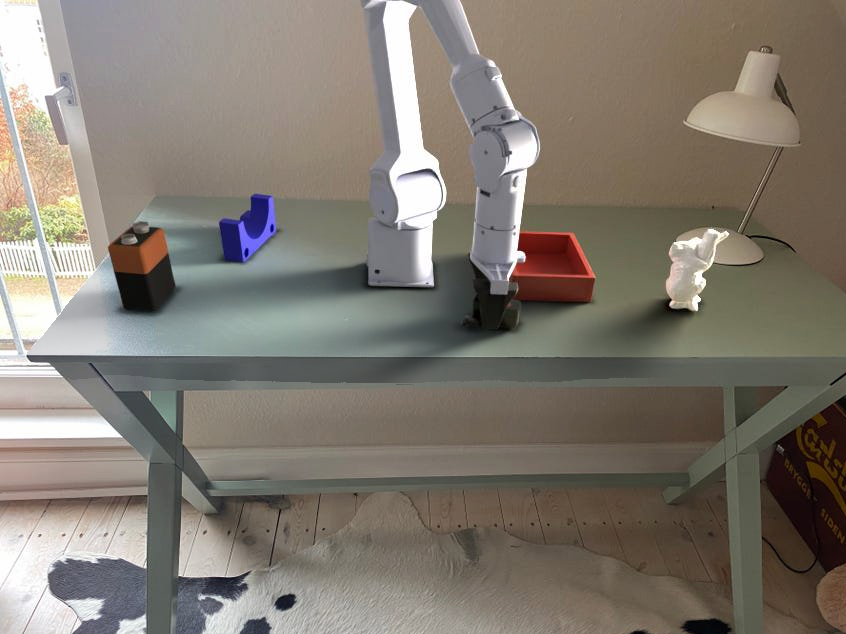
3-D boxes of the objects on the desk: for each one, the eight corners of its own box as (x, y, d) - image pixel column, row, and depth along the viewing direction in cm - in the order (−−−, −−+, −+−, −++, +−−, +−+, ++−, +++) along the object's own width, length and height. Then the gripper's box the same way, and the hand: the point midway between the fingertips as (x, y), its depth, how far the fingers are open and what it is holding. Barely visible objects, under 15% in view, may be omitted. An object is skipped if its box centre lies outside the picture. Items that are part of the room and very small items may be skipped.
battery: (177, 288, 91) (163, 220, 85) (156, 313, 86) (139, 242, 80) (145, 285, 91) (129, 217, 85) (122, 310, 85) (103, 239, 80)
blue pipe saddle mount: (249, 227, 109) (245, 192, 106) (276, 231, 109) (272, 196, 105) (215, 258, 99) (208, 220, 96) (243, 262, 99) (238, 224, 96)
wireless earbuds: (469, 311, 92) (471, 291, 90) (519, 321, 91) (522, 301, 89) (460, 328, 89) (462, 307, 87) (512, 338, 87) (515, 317, 86)
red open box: (509, 300, 96) (512, 275, 94) (497, 252, 109) (500, 230, 106) (590, 302, 97) (595, 277, 95) (569, 255, 110) (573, 232, 108)
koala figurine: (699, 294, 102) (721, 221, 96) (717, 316, 97) (742, 241, 90) (647, 293, 101) (665, 220, 94) (662, 316, 96) (683, 240, 89)
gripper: (538, 247, 77) (524, 345, 84) (520, 200, 89) (510, 290, 96) (478, 245, 76) (469, 344, 84) (468, 198, 88) (461, 288, 95)
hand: (487, 315), depth 90 cm, fingers open, 6 cm apart
